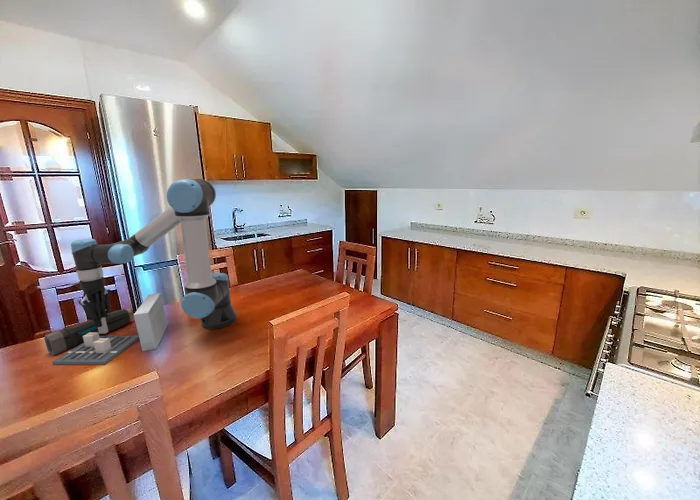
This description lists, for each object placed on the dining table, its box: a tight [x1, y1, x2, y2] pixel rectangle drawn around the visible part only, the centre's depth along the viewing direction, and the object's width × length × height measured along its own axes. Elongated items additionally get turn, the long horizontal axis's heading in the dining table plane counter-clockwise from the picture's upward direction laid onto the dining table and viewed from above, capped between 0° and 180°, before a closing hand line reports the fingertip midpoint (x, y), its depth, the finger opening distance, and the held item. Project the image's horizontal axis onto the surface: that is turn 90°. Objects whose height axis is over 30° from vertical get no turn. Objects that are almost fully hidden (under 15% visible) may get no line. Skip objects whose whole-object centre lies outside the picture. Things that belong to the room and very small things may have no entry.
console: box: [52, 335, 140, 366], centre depth 116 cm, size 19×18×2 cm
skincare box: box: [133, 292, 169, 352], centre depth 124 cm, size 21×5×16 cm, turn 20°
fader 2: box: [93, 338, 111, 353], centre depth 113 cm, size 4×3×5 cm
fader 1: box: [83, 332, 100, 347], centre depth 117 cm, size 4×3×5 cm
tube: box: [43, 308, 135, 357], centre depth 126 cm, size 11×7×30 cm
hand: (103, 332), depth 123 cm, fingers closed
